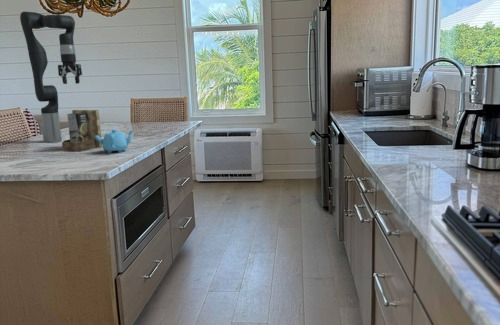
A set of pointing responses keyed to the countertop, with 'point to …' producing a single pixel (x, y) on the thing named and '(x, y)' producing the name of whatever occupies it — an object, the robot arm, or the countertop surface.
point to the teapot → (115, 141)
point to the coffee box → (78, 127)
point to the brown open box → (79, 145)
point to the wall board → (92, 123)
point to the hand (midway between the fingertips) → (71, 83)
